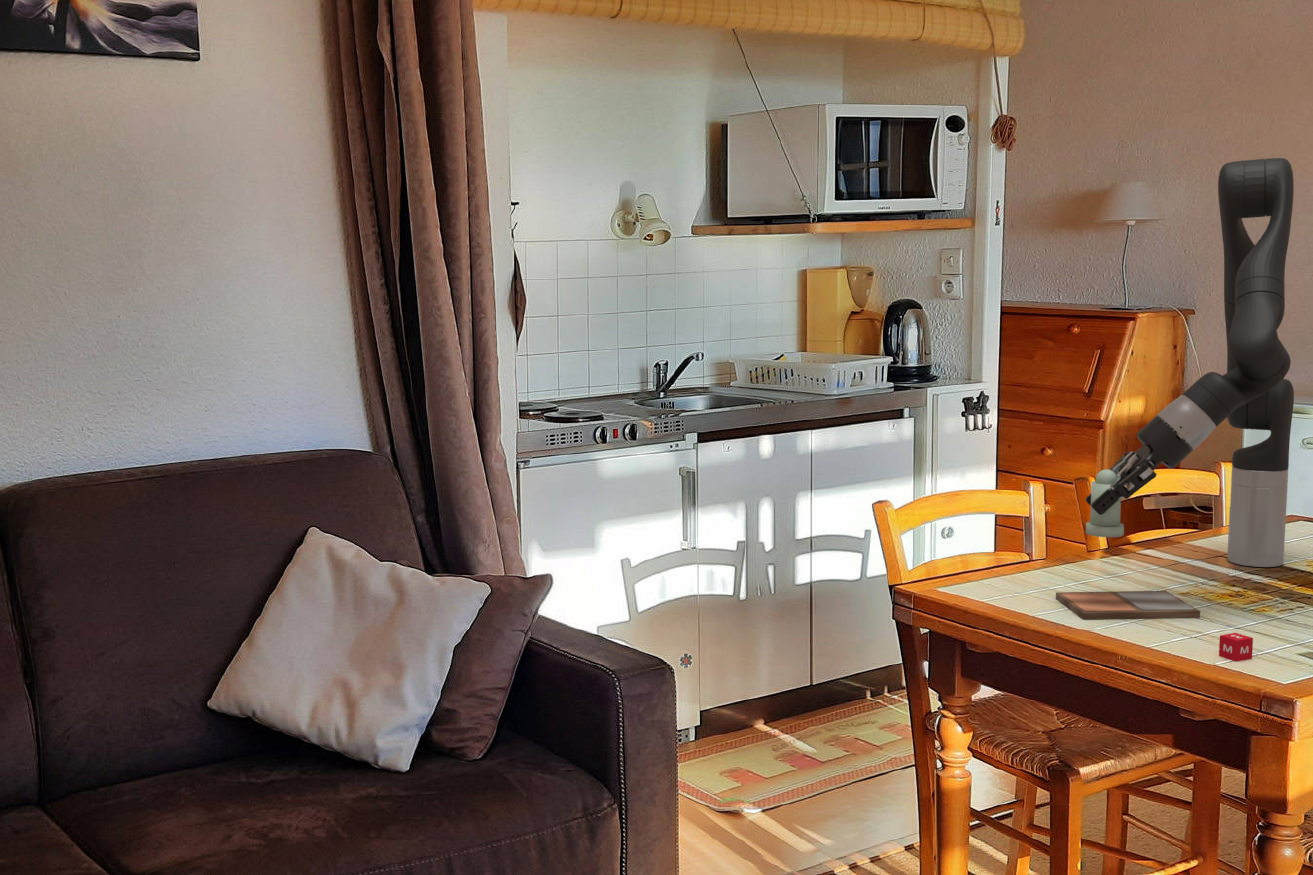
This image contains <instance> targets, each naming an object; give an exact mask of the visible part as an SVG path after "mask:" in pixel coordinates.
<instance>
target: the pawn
mask: <svg viewBox="0 0 1313 875" xmlns="http://www.w3.org/2000/svg"><path fill="white" fill-rule="evenodd" d="M1116 480H1117V476H1116V474H1115V473H1114V472H1113V471H1111V470H1110V469H1102V470H1100V471H1099V472H1098V473H1097V474H1096V476H1095V480H1094V481H1091V485H1090V487H1091V490H1090V491H1091V492H1090V494H1091V504H1092V503H1093V502H1094V501H1095V500H1096V499H1097V498H1098V497H1099V496H1100V495H1101V494H1103V493H1104V492H1105V491H1106V490H1107V489H1109V487H1110V485H1112V484H1113V483H1114V482H1115V481H1116ZM1109 490H1110V489H1109ZM1118 499H1119V498H1118ZM1121 504H1122V499H1121V500H1120V499H1119V500H1118V501H1117V502H1116V503H1115V504H1113V505H1112V506H1111V507H1110V508H1109V509H1108V510H1107V511H1106V512H1105V513H1104V514H1102V515H1099V514H1098V513H1097V512H1096V511H1095V510H1094V509H1093V508H1092V507H1091V506H1090V515H1089V516H1090V518H1089V519H1090V520H1089V521H1088V522H1086V523H1085V533H1086V535H1089V536H1091V537H1096V538H1098V537H1100V538H1120V537H1123V536H1124V535H1125V524H1124V523H1121V509H1122V508H1121Z"/></svg>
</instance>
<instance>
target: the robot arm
mask: <svg viewBox="0 0 1313 875" xmlns="http://www.w3.org/2000/svg"><path fill="white" fill-rule="evenodd" d="M1293 171H1294V170H1293V167H1292V165H1291V162H1290V160H1288V159H1286V158H1284V157H1271V158H1257V159H1247V160H1246V159H1245V160H1236V161H1230V162H1225V164H1224V165H1222V166H1221V168H1220V171H1219V173H1218V174H1219V175H1218V180H1217V191H1218V192H1217V193H1218V194H1217V196H1218V197H1217V198H1218V205H1219V207H1218V208H1219V215H1220V217H1219V218H1220V224H1221V225H1220V226H1221V236H1222V245H1223V299H1224V300H1223V301H1224V302H1223V303H1224V320H1225V333H1226V334H1225V335H1226V351H1227V352H1226V353H1227V354H1226V358H1227V359H1226V360H1227V361H1226V364H1227V365H1226V373H1224V374H1220V373H1218V372H1215V371H1209V372H1207V373H1205V374H1203V375H1202V376H1201V377H1199V379H1197V380H1196V381H1195V382H1194V383H1193V384H1192V385H1191V386H1190V387H1189V388H1187V389H1186V390H1185V391H1184V392H1183V394H1181V395H1179V397H1177V398H1175V399H1174V400H1173V401H1171V402H1170V403H1169V404H1168V405H1166V406H1165V407H1164V408H1163V409H1162V410H1161V411H1160V412H1159V413H1158V414H1156V415H1155V416H1154V417H1153V418H1152V419H1151V420H1150V421H1149V422H1147V424H1146V425H1144V426H1143V427H1142V428H1141V429H1140V430H1139V431H1138V432H1136V438H1137V439H1138V441H1139V442H1140V443H1142V446H1141V447H1139V448H1138V449H1137V450H1132V451H1126V452H1124V453H1123V455H1122V456H1121V457H1120V458H1118V460H1117V461H1116V462H1115V463H1114V465H1112V466H1111V468H1109V470H1111V471H1113V472H1114V473H1115V474H1116V476H1117V480H1116V481H1115V482H1114V483H1113V484H1112V485H1110V487H1109V489H1110V490H1109V489H1107V490H1106V491H1105V492H1104V493H1103V494H1101V495H1100V496H1099V497H1098V498H1097V499H1096V500H1095V501H1094V502H1093V503H1092V504H1091V493H1089V495H1087V496H1086V497H1085V502H1086V503H1087V504H1088V506H1090V508H1091V507H1092V508H1093V509H1094V510H1095V511H1096V512H1097V513H1098V514H1099V515H1102V514H1104V513H1105V512H1106V511H1107V510H1108V509H1109V508H1110V507H1111V506H1112V505H1113V504H1115V503H1116V502H1117V501H1118V500H1119V499H1120V500H1121V501H1122V500H1123V499H1125V500H1127V499H1130V498H1131V496H1133V495H1134V494H1135V493H1137V492H1138V491H1139V490H1140V489H1142V488H1143V487H1144V486H1146V485H1147V484H1148V483H1149V482H1151V481H1152V480H1154V479H1155V478H1156V477H1157V473H1156V472H1155V470H1156V469H1157V467H1158V466H1159V465H1160V464H1163V466H1165V467H1167V468H1168V469H1174V468H1176V466H1177V465H1179V464H1180V463H1181V462H1182V461H1184V459H1185V458H1187V457H1188V456H1189V455H1190V454H1191V453H1192V452H1193V451H1194V450H1195V449H1197V448H1198V447H1199V446H1200V445H1201V444H1203V442H1204V441H1206V440H1207V438H1209V436H1210V435H1211V433H1213V432H1214V430H1215V429H1216V428H1217V427H1219V425H1221V423H1223V422H1224V421H1225V420H1227V421H1228V423H1229V425H1230V426H1231V427H1232V428H1235V429H1240V430H1241V429H1242V430H1257V431H1258V430H1259V431H1270V435H1269V437H1268V438H1266V439H1265V440H1263V441H1261V442H1259V443H1257V444H1253V445H1250V446H1245V447H1242V448H1238V449H1237V450H1235V451H1234V452H1233V454H1232V456H1231V457H1232V461H1231V478H1230V479H1231V480H1230V481H1231V484H1230V485H1231V486H1230V505H1229V516H1228V517H1229V518H1228V532H1227V533H1228V536H1227V538H1228V539H1227V553H1226V554H1227V555H1226V556H1227V561H1228V562H1230V563H1233V564H1236V565H1240V566H1245V567H1256V568H1273V567H1274V568H1275V567H1280V566H1283V564H1284V559H1285V558H1284V554H1285V542H1286V540H1285V539H1286V524H1287V523H1286V522H1287V506H1288V505H1287V502H1288V484H1289V483H1288V482H1289V461H1290V460H1289V459H1290V443H1291V442H1290V440H1291V428H1292V419H1293V413H1294V412H1293V411H1294V406H1295V404H1294V401H1295V390H1294V387H1293V383H1292V382H1291V381H1290V380H1289V379H1286V378H1285V377H1286V376H1287V375H1288V373H1289V370H1290V367H1291V356H1290V354H1289V352H1288V350H1287V349H1286V347H1285V346H1284V344H1283V343H1282V342H1281V339H1280V338H1279V336H1278V329H1279V327H1280V326H1281V324H1282V323H1283V322H1282V321H1283V319H1284V315H1285V308H1286V304H1285V300H1286V299H1285V295H1286V294H1285V288H1286V285H1285V275H1286V274H1285V272H1286V261H1287V255H1288V254H1287V253H1288V247H1289V242H1290V233H1291V228H1292V227H1291V225H1292V216H1293V215H1292V214H1293V207H1294V205H1293V204H1294V193H1295V192H1294V191H1295V190H1294V189H1295V187H1294V186H1295V185H1294V173H1293ZM1265 217H1266V218H1267V217H1269V221H1268V225H1267V227H1266V229H1265V231H1264V232H1263V234H1262V235H1261V236H1260V238H1259V240H1258V241H1257V242H1256V244H1255V243H1254V242H1253V240H1252V238H1251V237H1250V236H1249V234H1248V232H1247V229H1246V227H1245V224H1244V222H1243V219H1251V218H1252V219H1253V218H1254V219H1255V218H1265ZM1118 498H1119V499H1118Z"/></svg>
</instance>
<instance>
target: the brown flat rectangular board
mask: <svg viewBox="0 0 1313 875" xmlns="http://www.w3.org/2000/svg"><path fill="white" fill-rule="evenodd" d="M1055 600H1057V601H1058V602H1060V603H1061V604H1062V605H1064V606H1065V607H1067V609H1069V610H1070V611H1072V612H1073V613H1074V614H1076V615H1077V616H1078V617H1079V618H1081V619H1082V621H1083V620H1087V621H1088V620H1130V619H1131V620H1133V619H1134V620H1135V619H1136V620H1139V619H1143V620H1145V619H1147V620H1148V619H1189V618H1190V619H1197V618H1199V619H1200V618H1201V611H1200V610H1199V609H1198V608H1196V607H1194V606H1192V605H1190V604H1189V603H1187V602H1185V601H1184V600H1182V599H1181V598H1179V597H1177V596H1175V595H1174V594H1172V593H1170V592H1169V591H1167V590H1135V591H1134V590H1132V591H1126V590H1125V591H1124V590H1123V591H1120V590H1119V591H1072V592H1070V591H1067V592H1066V591H1064V592H1063V591H1059V592H1057V591H1056V592H1055Z"/></svg>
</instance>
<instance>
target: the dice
mask: <svg viewBox="0 0 1313 875" xmlns="http://www.w3.org/2000/svg"><path fill="white" fill-rule="evenodd" d="M1218 643H1219V645H1218V646H1219V648H1218V649H1219V650H1218V656H1219V657H1221V658H1224V659H1227V660H1230V661H1233V662H1242V661H1247V660H1252V659H1253V647H1254V646H1253V645H1254V644H1253V643H1254V637H1251V636H1249V635H1248V636H1247V635H1245V634H1242V633H1241V634H1240V633H1238V632H1232V633H1226V634H1225V633H1224V634H1220V635H1219V642H1218Z"/></svg>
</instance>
